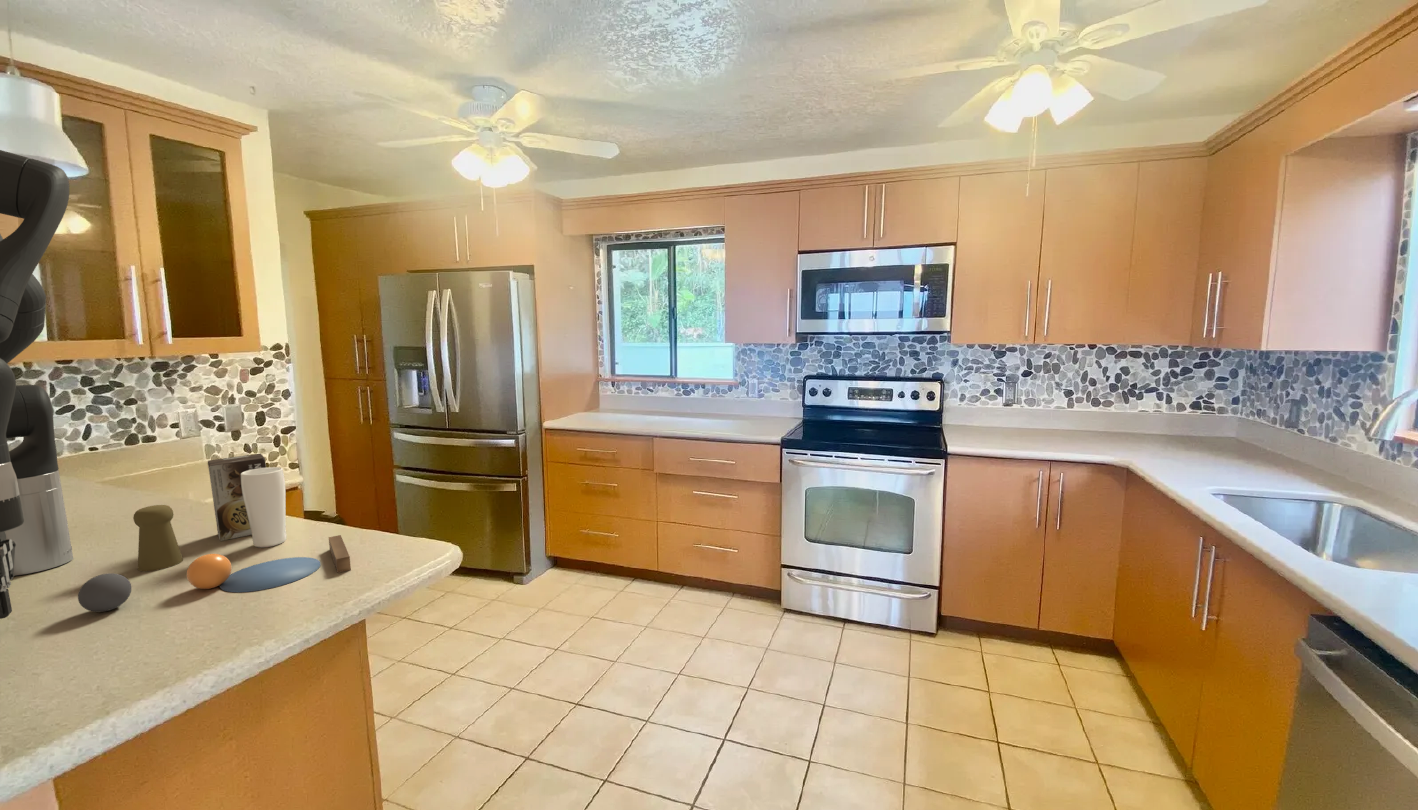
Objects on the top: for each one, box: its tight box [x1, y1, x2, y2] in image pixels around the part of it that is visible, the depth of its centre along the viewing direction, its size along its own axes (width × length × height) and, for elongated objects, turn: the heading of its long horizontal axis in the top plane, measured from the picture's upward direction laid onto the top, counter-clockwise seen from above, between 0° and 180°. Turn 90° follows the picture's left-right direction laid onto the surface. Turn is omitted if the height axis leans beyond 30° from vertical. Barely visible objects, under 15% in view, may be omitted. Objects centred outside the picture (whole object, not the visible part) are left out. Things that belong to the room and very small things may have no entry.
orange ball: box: [186, 553, 233, 590], centre depth 94 cm, size 6×6×6 cm
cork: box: [132, 504, 184, 572], centre depth 103 cm, size 6×6×11 cm
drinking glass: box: [241, 466, 287, 548], centre depth 113 cm, size 7×7×15 cm
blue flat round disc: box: [219, 556, 321, 593], centre depth 99 cm, size 14×14×1 cm
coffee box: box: [207, 453, 267, 542], centre depth 120 cm, size 9×6×16 cm
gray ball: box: [77, 572, 132, 613], centre depth 86 cm, size 6×6×6 cm
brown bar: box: [328, 534, 352, 574], centre depth 105 cm, size 2×14×2 cm, turn 38°
